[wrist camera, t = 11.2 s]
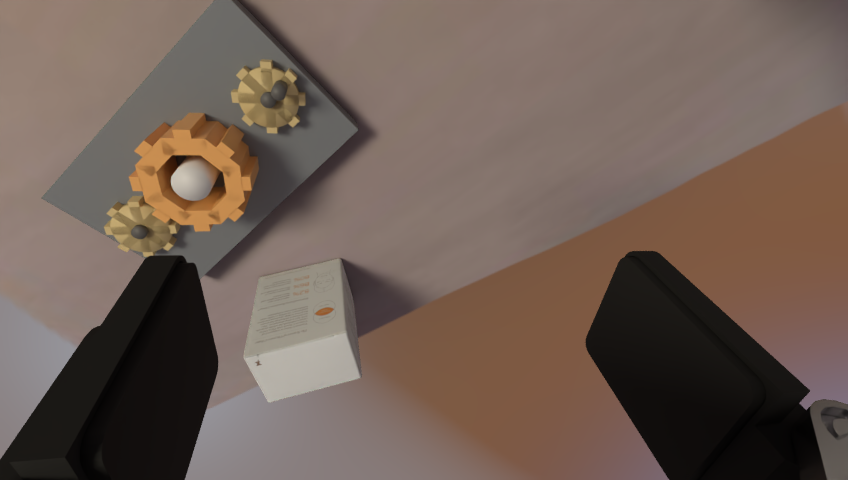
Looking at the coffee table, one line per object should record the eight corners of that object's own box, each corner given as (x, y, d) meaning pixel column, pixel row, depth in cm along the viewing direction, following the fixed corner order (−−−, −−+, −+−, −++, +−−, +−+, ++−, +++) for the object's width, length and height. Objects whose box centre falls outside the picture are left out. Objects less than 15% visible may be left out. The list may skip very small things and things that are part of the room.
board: (228, -10, 28) (207, -8, 23) (356, 122, 34) (362, 147, 29) (55, 186, 32) (6, 225, 27) (198, 272, 38) (179, 316, 33)
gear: (138, 111, 29) (114, 128, 25) (252, 114, 30) (243, 131, 27) (163, 206, 32) (145, 232, 29) (263, 205, 34) (257, 230, 31)
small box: (277, 318, 43) (265, 405, 34) (258, 275, 39) (239, 359, 31) (355, 299, 43) (363, 380, 35) (342, 256, 40) (347, 332, 32)
